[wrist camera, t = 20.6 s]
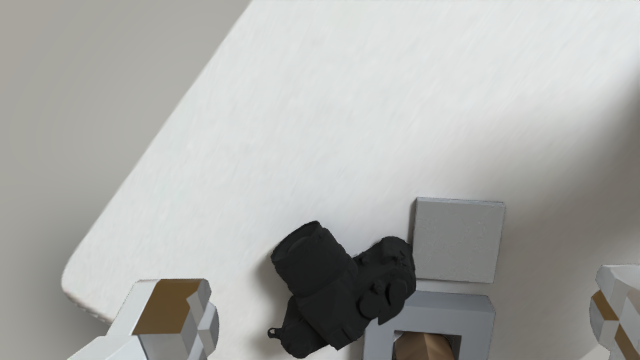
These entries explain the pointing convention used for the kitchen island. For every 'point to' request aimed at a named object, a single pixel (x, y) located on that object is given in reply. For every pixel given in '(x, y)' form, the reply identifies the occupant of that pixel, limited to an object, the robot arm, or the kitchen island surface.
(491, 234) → the pad
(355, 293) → the film camera
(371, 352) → the hole plate
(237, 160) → the kitchen island surface
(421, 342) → the walnut peg
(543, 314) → the kitchen island surface
